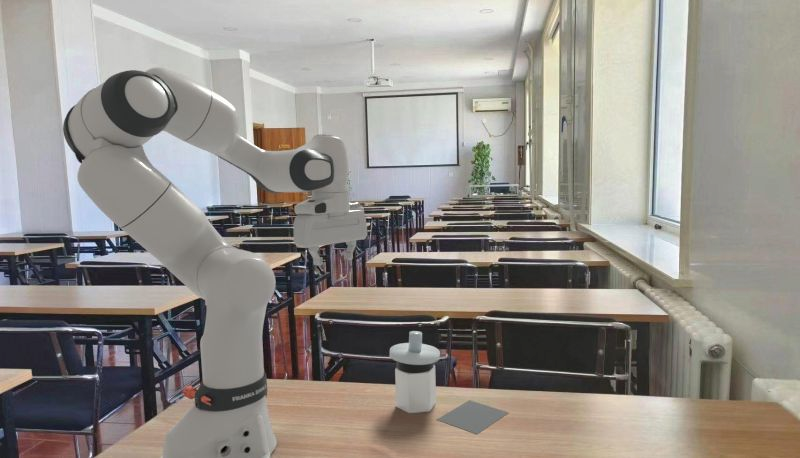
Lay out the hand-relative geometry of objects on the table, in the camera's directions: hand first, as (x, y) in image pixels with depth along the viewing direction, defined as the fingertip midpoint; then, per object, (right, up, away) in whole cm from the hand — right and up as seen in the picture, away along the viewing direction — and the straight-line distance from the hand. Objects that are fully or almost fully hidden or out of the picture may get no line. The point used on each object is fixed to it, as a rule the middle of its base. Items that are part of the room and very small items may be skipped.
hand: (333, 262), depth 127 cm
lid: (+19, -20, -11) cm, 30 cm away
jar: (+20, -32, -10) cm, 39 cm away
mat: (+31, -32, -16) cm, 47 cm away
